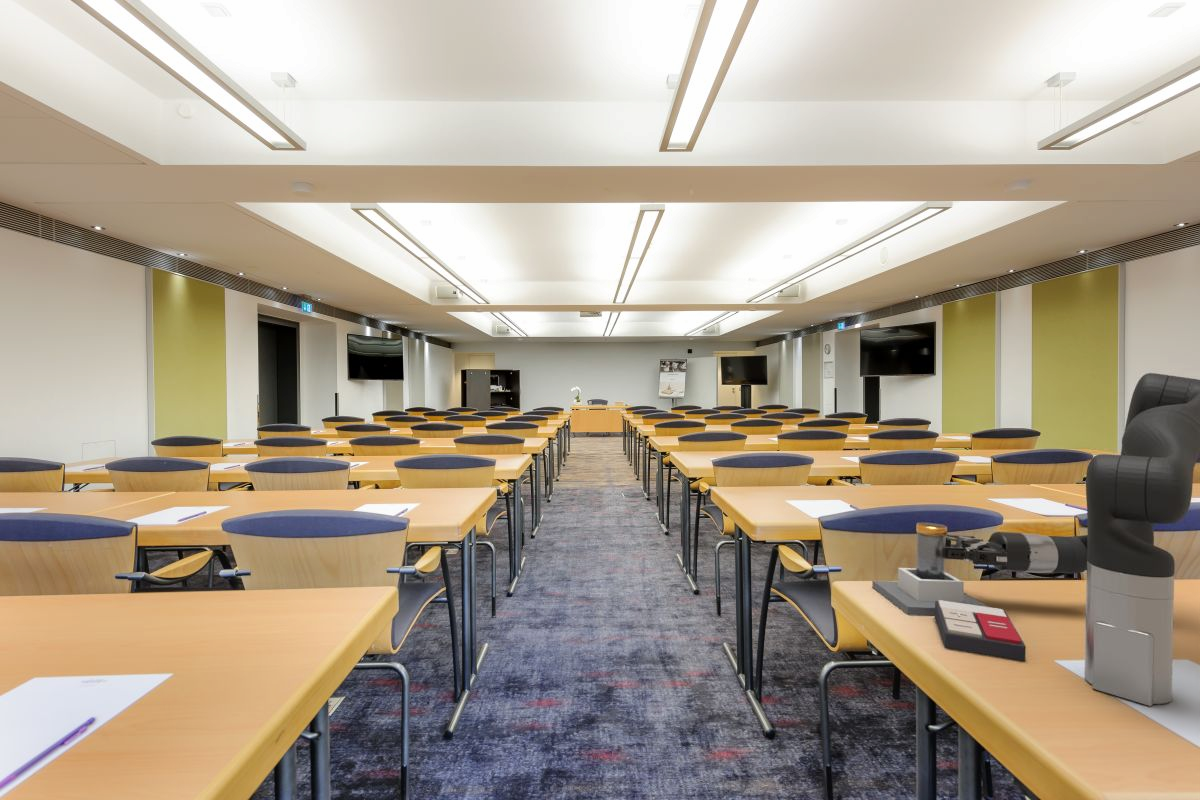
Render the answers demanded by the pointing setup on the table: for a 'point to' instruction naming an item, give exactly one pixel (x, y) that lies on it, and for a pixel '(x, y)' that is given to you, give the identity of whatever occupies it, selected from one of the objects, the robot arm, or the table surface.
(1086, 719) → the table surface
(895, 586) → the duct collar
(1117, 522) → the robot arm
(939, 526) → the lidded canister
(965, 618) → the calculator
